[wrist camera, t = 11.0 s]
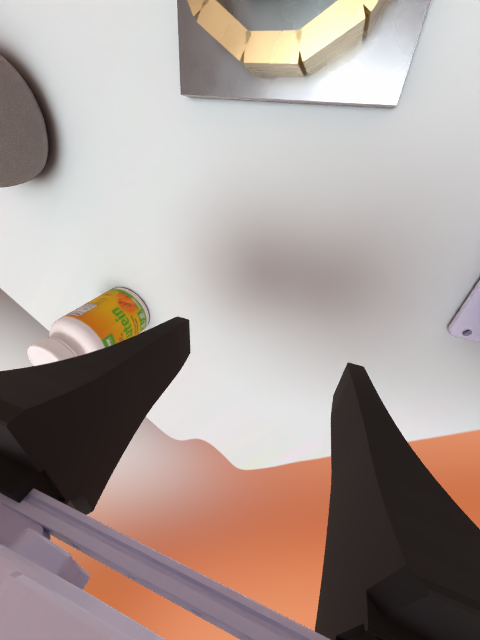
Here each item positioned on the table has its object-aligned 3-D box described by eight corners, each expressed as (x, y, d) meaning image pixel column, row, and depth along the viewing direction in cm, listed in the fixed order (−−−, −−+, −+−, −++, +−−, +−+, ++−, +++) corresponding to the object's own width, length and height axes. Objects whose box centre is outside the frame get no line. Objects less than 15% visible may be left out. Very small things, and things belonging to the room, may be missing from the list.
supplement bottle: (158, 328, 28) (87, 393, 20) (123, 330, 30) (47, 389, 23) (136, 283, 26) (47, 337, 18) (100, 289, 28) (7, 339, 20)
